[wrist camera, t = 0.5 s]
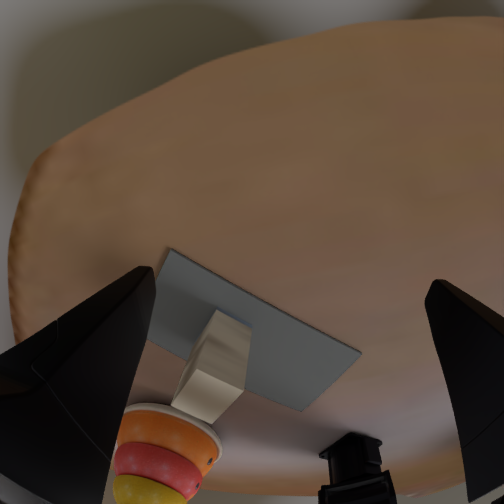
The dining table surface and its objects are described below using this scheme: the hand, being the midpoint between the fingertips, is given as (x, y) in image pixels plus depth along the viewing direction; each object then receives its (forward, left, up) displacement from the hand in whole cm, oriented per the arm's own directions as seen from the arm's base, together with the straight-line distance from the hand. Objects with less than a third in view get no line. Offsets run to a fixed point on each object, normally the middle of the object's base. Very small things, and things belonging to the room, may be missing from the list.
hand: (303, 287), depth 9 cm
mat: (-13, -4, -15) cm, 20 cm away
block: (-13, -2, -14) cm, 20 cm away
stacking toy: (-32, -4, -15) cm, 36 cm away
